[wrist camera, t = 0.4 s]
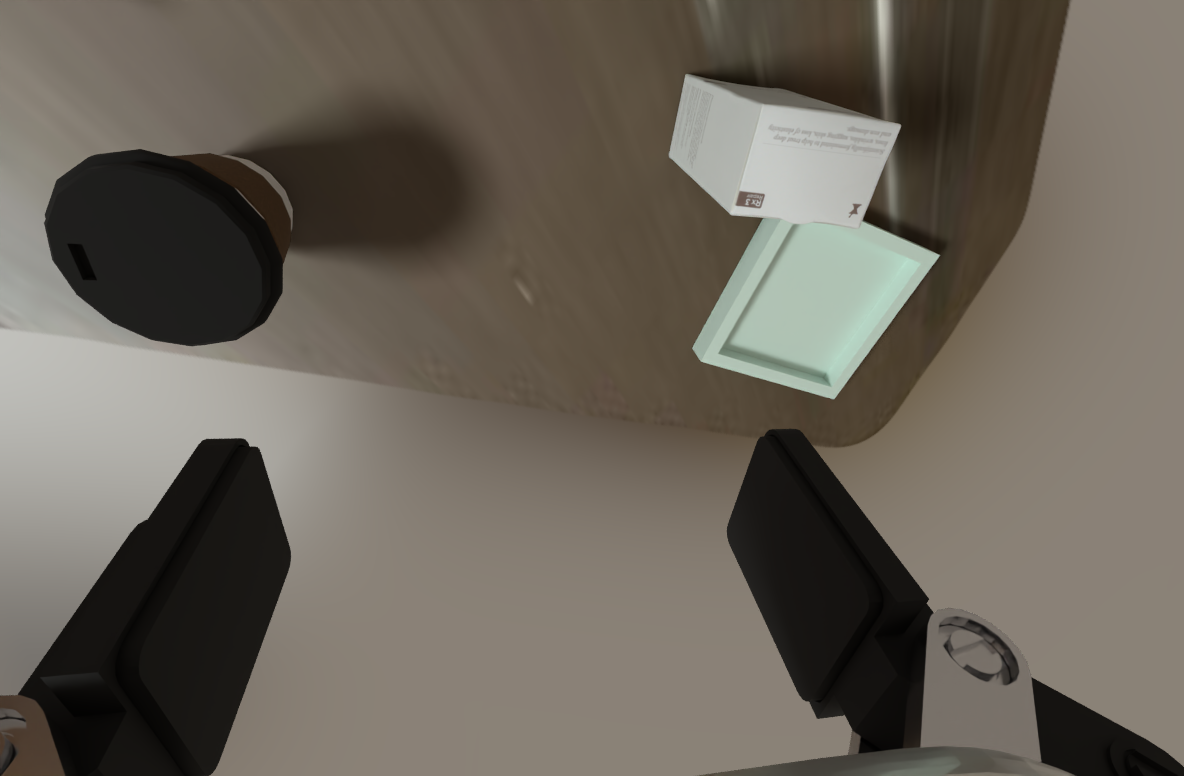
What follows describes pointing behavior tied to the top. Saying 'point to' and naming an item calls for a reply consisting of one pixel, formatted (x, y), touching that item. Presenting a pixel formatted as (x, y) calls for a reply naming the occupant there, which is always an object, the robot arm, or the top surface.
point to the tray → (811, 302)
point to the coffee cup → (172, 242)
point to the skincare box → (779, 152)
